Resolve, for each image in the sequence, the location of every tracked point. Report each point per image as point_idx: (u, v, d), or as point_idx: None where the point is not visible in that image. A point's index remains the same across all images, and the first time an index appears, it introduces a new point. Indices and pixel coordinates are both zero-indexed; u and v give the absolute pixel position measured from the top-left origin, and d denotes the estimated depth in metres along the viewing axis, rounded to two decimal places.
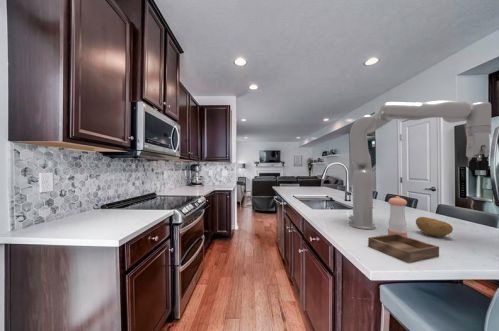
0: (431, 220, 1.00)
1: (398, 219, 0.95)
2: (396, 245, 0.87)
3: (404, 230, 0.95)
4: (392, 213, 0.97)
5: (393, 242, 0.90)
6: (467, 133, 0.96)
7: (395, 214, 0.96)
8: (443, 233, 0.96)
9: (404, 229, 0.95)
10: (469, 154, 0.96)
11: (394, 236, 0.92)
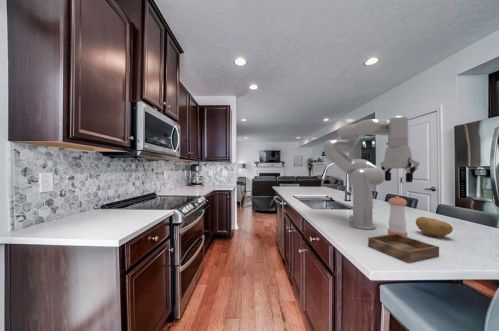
0: (431, 220, 1.00)
1: (398, 219, 0.95)
2: (396, 245, 0.87)
3: (404, 230, 0.95)
4: (392, 213, 0.97)
5: (393, 242, 0.90)
6: (393, 145, 0.96)
7: (395, 214, 0.96)
8: (443, 233, 0.96)
9: (404, 229, 0.95)
10: (393, 166, 0.97)
11: (394, 236, 0.92)
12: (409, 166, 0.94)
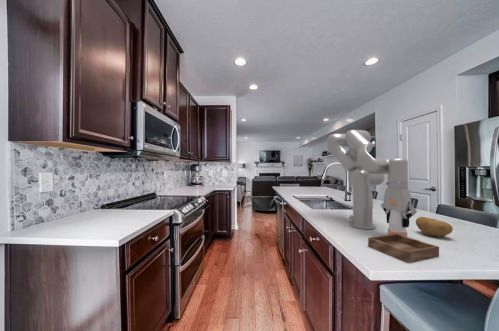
0: (431, 220, 1.00)
1: (398, 219, 0.95)
2: (396, 245, 0.87)
3: (404, 230, 0.95)
4: (392, 213, 0.97)
5: (393, 242, 0.90)
6: (393, 187, 0.96)
7: (395, 214, 0.96)
8: (443, 233, 0.96)
9: (404, 229, 0.95)
10: (393, 208, 0.97)
11: (394, 236, 0.92)
12: (407, 211, 0.94)
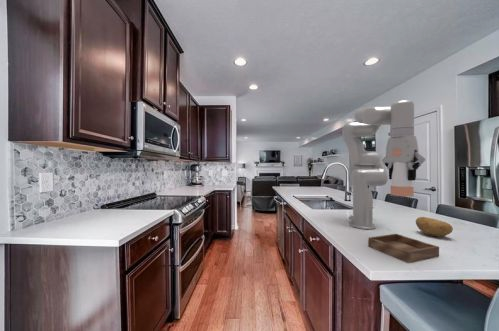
0: (431, 220, 1.00)
1: (403, 171, 0.81)
2: (396, 245, 0.87)
3: (410, 184, 0.80)
4: (396, 166, 0.83)
5: (393, 242, 0.90)
6: (396, 135, 0.82)
7: (399, 166, 0.82)
8: (443, 233, 0.96)
9: (410, 183, 0.80)
10: (396, 159, 0.82)
11: (394, 236, 0.92)
12: (413, 161, 0.80)
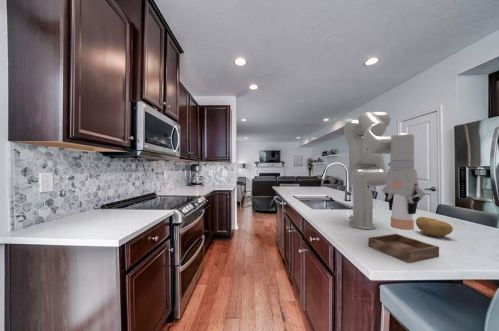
0: (431, 220, 1.00)
1: (403, 204, 0.80)
2: (396, 245, 0.87)
3: (410, 217, 0.80)
4: (396, 198, 0.82)
5: (393, 242, 0.90)
6: (396, 167, 0.81)
7: (399, 199, 0.81)
8: (443, 233, 0.96)
9: (410, 216, 0.80)
10: (396, 192, 0.82)
11: (394, 236, 0.92)
12: (414, 194, 0.80)
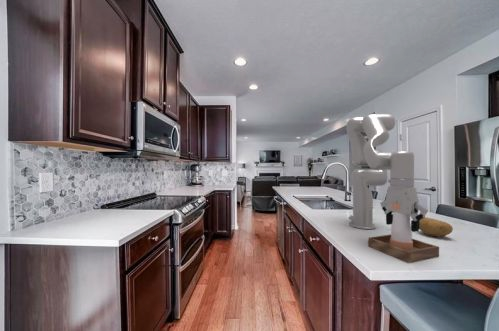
0: (431, 220, 1.00)
1: (402, 226, 0.81)
2: None
3: (409, 239, 0.80)
4: (395, 219, 0.83)
5: None
6: (396, 185, 0.81)
7: (399, 220, 0.82)
8: (443, 233, 0.96)
9: (409, 238, 0.80)
10: None
11: None
12: (415, 212, 0.79)
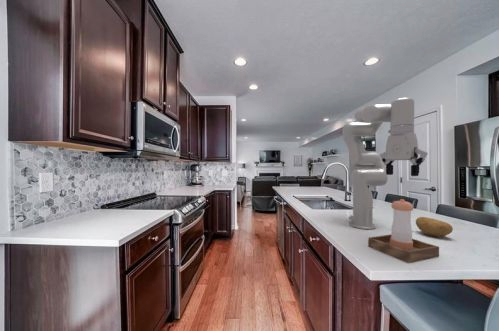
0: (431, 220, 1.00)
1: (403, 226, 0.81)
2: None
3: (409, 239, 0.80)
4: (396, 219, 0.83)
5: None
6: (396, 132, 0.81)
7: (399, 220, 0.81)
8: (443, 233, 0.96)
9: (409, 238, 0.80)
10: (396, 157, 0.82)
11: None
12: (415, 157, 0.79)
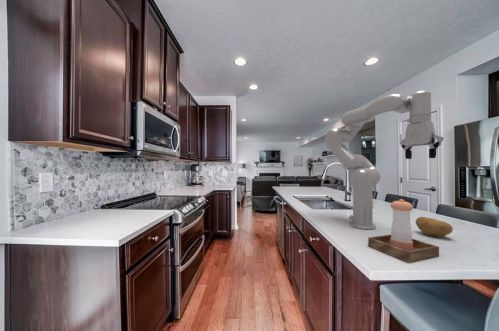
0: (431, 220, 1.00)
1: (402, 226, 0.81)
2: None
3: (409, 239, 0.80)
4: (395, 219, 0.83)
5: None
6: (415, 120, 0.94)
7: (399, 220, 0.82)
8: (443, 233, 0.96)
9: (409, 238, 0.80)
10: (415, 142, 0.94)
11: None
12: (432, 142, 0.92)
